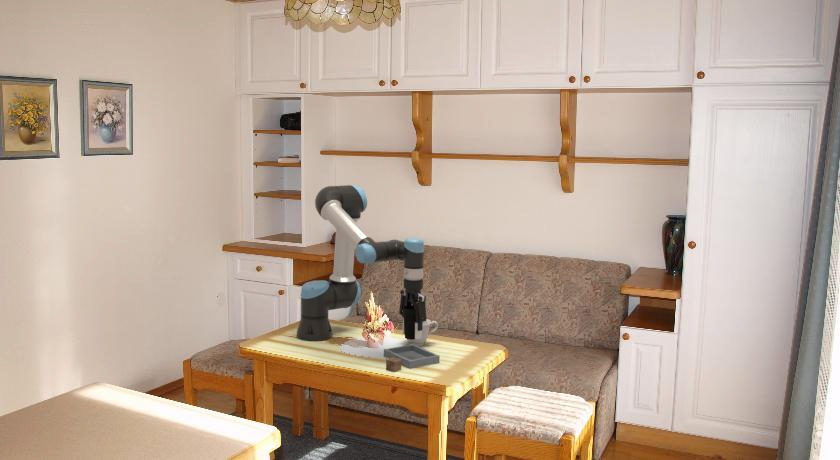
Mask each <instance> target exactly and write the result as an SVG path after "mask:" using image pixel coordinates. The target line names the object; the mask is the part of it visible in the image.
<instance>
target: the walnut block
mask: <svg viewBox="0 0 840 460" xmlns="http://www.w3.org/2000/svg"><path fill="white" fill-rule="evenodd" d="M385 370H386V371H387V372H388V371H389V372H392V373H396V372H398V371H399V372H400V371H401V370H402V365H401V359H397V358H390V359H389V358H386V365H385Z"/></svg>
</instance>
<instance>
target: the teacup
mask: <svg viewBox="0 0 840 460" xmlns="http://www.w3.org/2000/svg"><path fill="white" fill-rule="evenodd" d="M423 319H424V318H423ZM433 325H435V327H434V328H433V329H431V330H430V327H433ZM438 328H439V323H438V322H437V321H436V320H431V319H428V318H426V321H425V322H423V325H422V338H420V339H414V340H411V339H406V340H407V341H408V342H409V345H411V344H414V345H416V346H418V347H422V346H424V343H425V342H426V341H427V340H428V337H429V336H430V334H432V333H434V332H436V331H437V329H438Z"/></svg>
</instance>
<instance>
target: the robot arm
mask: <svg viewBox="0 0 840 460" xmlns="http://www.w3.org/2000/svg"><path fill="white" fill-rule="evenodd" d="M314 206H315V209H316V211H317V213H318V215H319V217H321V218H322V219H323V220H325V221H328V222H329V223H330V224H331V225H332V226H333V227H334V228H335V237H334V238H335V240H334V241H335V242H334V255H333V270H332V271H333V272H332V274H331V275H329V279H328V280H329V281H327V280H324V279H323V280H322V279H321V280H320V279H319V280H311V281H307V282H305V283H304V284H303V285H302V286H301V290H300V320H299V323H298V327H297V330H296V338H298V339H300V340H303V341H313V342H315V341H316V342H317V341H324V340H325V341H326V340H328V339H331V338H332V337H333V329H332V325H331V323H330V320H329V311H333V310H338V309H347V308H351V307H354V306H356V304H358V303H359V301H360V298H361V295H362V290H361V285H360V283H359V282H358V281H357V277H356V276H355V275H354V263H355V258H356V261H358V263H360V264H373V263H381V262H387V261H388V262H390V261H401V262H403V268H404V269H403V278H404V279H403V288H404V290H403V289H402V290H400V303H399V311H398V314H399V315H401V317H402V335H405V332H404V317H403V307H404V306H405V307H406V309H410V308H411V305H413V306H414V310H416V313H415V315H416V320H417V321H416V322H415V339H420V338H422V325H423V322H425V321H426V319H427V308H426V306H427V305H426V300H427V296H426V295H422V293H421V292H422V289H424V279H423V278H424V261H425V260H424V257H425V245H424V244H425V242H424V239H422V238H418V237H408V238H405V239H404V241H402V240H398V239H387V240H386V241H379V242H376V241H375V240H374V239H373V238H371V236H370V235H369V234H368V233H367V232H366V231H365V230H364V229H363V228H362V227H361V226H360V225H359V224H358V223H357V222H358V221H359V219H361V214H362V213H363V212H365V211H366V209H367V207H368V197H367V195H366V192H365V190H364V189H363V187H360V186H359V185H353V184H352V185H351V184H346V185H345V184H344V185H328V186H325V187H323V188H322V189H320V190H319V191H318V192H317V195H316V196H315V200H314ZM423 318H424V319H423Z"/></svg>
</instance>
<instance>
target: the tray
mask: <svg viewBox="0 0 840 460" xmlns="http://www.w3.org/2000/svg"><path fill="white" fill-rule="evenodd" d="M383 357H384V358H386V359H390V358H397V359H401V366H403V367H406V368H408V369H414V368H415V369H416V368H419V367H425V366H430V365H435V364H439V363H440V354H437V353H434V352H432V351H430V350H427V349H425V348H422V346H416V345H414V344H411V345H410V344H406V345H401V346H395V347H389V348H384V349H383Z"/></svg>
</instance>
